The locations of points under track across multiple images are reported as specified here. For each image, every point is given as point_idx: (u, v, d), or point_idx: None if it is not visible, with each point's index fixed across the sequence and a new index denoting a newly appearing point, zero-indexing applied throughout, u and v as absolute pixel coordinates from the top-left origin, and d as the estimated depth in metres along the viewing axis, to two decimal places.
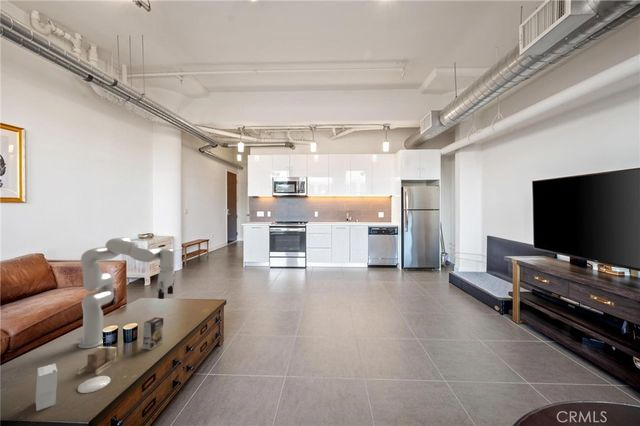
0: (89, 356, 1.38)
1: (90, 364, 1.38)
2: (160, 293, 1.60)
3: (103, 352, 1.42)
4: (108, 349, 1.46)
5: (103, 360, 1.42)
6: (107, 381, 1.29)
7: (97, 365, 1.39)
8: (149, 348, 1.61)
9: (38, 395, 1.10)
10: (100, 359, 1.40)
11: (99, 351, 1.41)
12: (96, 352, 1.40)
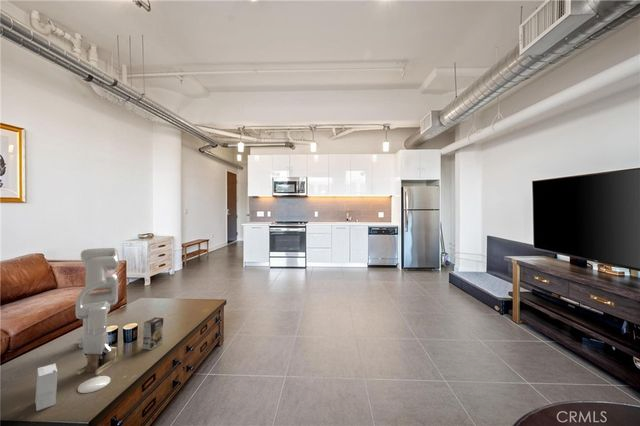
0: (89, 356, 1.38)
1: (90, 364, 1.38)
2: (103, 358, 1.41)
3: None
4: None
5: None
6: (107, 381, 1.29)
7: (97, 365, 1.39)
8: (149, 348, 1.61)
9: (38, 395, 1.10)
10: None
11: None
12: None
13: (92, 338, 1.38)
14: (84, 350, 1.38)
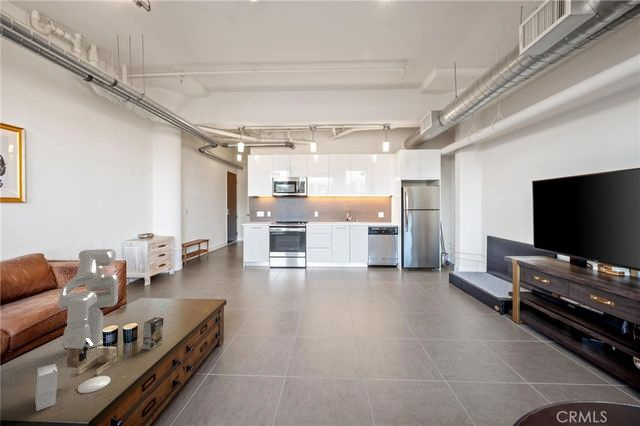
0: (69, 351, 1.27)
1: (70, 359, 1.27)
2: (85, 353, 1.30)
3: None
4: (108, 349, 1.46)
5: None
6: (107, 381, 1.29)
7: (78, 360, 1.28)
8: (149, 348, 1.61)
9: (38, 395, 1.10)
10: None
11: None
12: None
13: (72, 331, 1.26)
14: (63, 344, 1.27)
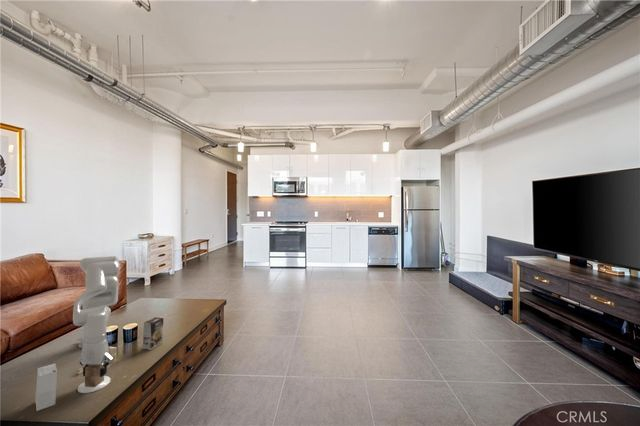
0: (87, 369, 1.25)
1: (88, 378, 1.25)
2: (105, 367, 1.28)
3: None
4: (108, 349, 1.46)
5: None
6: (107, 381, 1.29)
7: (96, 379, 1.26)
8: (149, 348, 1.61)
9: (38, 395, 1.10)
10: (99, 373, 1.28)
11: None
12: (95, 365, 1.28)
13: (90, 347, 1.25)
14: (82, 360, 1.25)
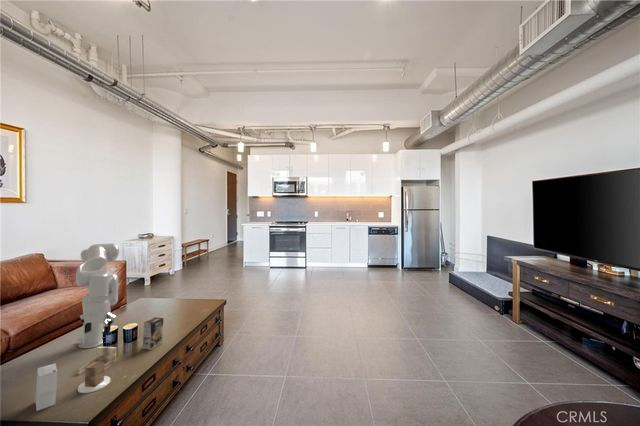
0: (87, 369, 1.25)
1: (88, 378, 1.25)
2: (109, 326, 1.33)
3: (102, 365, 1.29)
4: (108, 349, 1.46)
5: (102, 374, 1.30)
6: (107, 381, 1.29)
7: (96, 379, 1.26)
8: (149, 348, 1.61)
9: (38, 395, 1.10)
10: (99, 373, 1.28)
11: (98, 364, 1.29)
12: (95, 365, 1.28)
13: (93, 306, 1.30)
14: (85, 319, 1.30)
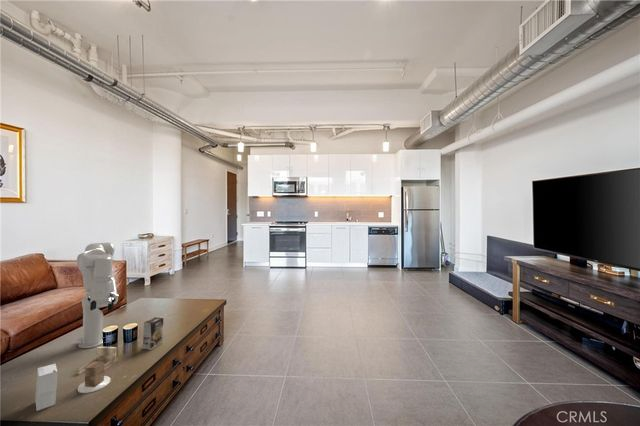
0: (87, 369, 1.25)
1: (88, 378, 1.25)
2: (112, 303, 1.48)
3: (102, 365, 1.29)
4: (108, 349, 1.46)
5: (102, 374, 1.30)
6: (107, 381, 1.29)
7: (96, 379, 1.26)
8: (149, 348, 1.61)
9: (38, 395, 1.10)
10: (99, 373, 1.28)
11: (98, 364, 1.29)
12: (95, 365, 1.28)
13: (98, 286, 1.45)
14: (91, 297, 1.45)
